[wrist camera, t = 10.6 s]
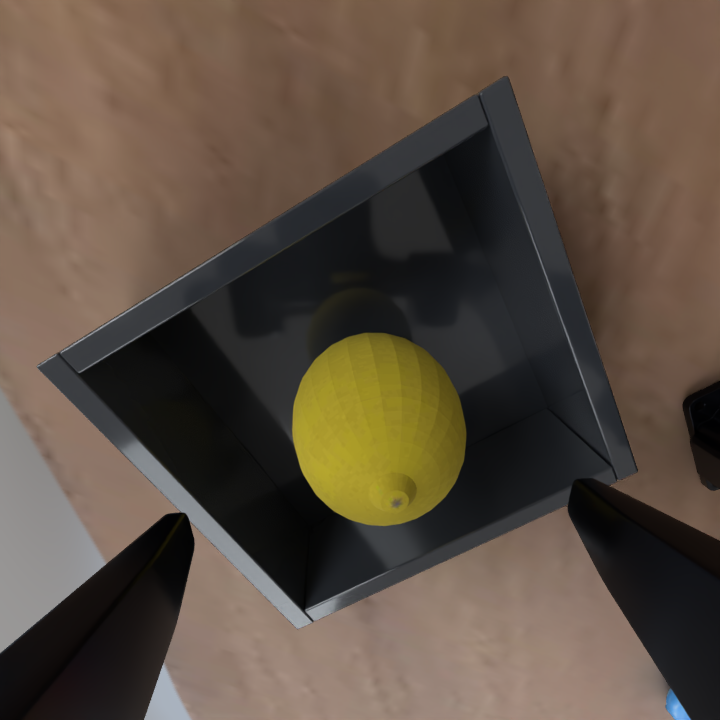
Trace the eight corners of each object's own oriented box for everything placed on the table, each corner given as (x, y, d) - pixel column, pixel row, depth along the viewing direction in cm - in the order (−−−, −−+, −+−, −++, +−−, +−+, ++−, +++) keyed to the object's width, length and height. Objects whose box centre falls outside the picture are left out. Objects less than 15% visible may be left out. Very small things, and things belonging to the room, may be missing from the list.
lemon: (375, 446, 18) (408, 614, 10) (275, 384, 16) (230, 528, 9) (454, 358, 16) (557, 479, 9) (354, 281, 15) (378, 350, 8)
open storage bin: (445, 121, 14) (509, 72, 9) (558, 403, 19) (639, 472, 14) (127, 317, 16) (34, 366, 11) (305, 529, 20) (297, 630, 16)
